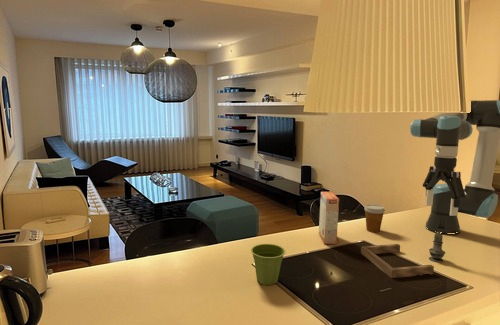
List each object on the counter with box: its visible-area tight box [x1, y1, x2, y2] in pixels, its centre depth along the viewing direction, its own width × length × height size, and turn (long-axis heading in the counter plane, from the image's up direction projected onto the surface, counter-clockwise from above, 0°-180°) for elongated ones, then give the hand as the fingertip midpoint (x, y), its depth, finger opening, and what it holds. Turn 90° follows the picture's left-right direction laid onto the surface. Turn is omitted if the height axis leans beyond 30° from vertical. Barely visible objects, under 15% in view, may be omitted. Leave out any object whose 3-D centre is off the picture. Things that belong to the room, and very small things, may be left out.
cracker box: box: [318, 191, 340, 245], centre depth 164 cm, size 14×6×21 cm, turn 179°
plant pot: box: [250, 243, 286, 286], centre depth 125 cm, size 12×12×11 cm
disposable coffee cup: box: [364, 204, 386, 233], centre depth 177 cm, size 10×10×12 cm
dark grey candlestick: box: [428, 231, 446, 263], centre depth 143 cm, size 6×6×12 cm
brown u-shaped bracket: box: [360, 243, 435, 279], centre depth 141 cm, size 17×22×3 cm
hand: (440, 210), depth 141 cm, fingers open, 13 cm apart
